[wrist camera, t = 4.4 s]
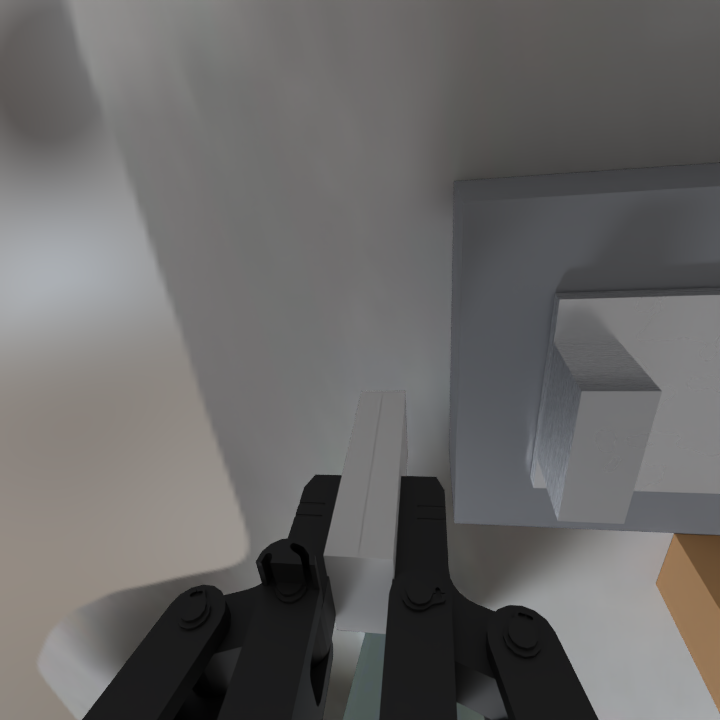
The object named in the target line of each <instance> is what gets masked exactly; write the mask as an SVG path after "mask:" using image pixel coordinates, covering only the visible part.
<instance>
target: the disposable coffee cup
mask: <svg viewBox="0 0 720 720" xmlns="http://www.w3.org/2000/svg"><path fill="white" fill-rule="evenodd" d="M385 638H386V634H378V633H365V637H364V640H363V644H362V648H361V652H360V656H359V660H358V663H357V667H356V671H355V675H354V679H353V682H352V686H351V690H350V694H349V698H348V702H347V705H346V709H345V713H344V717H343V720H379V715H380V702H381V689H382V676H383V663H384V651H385ZM457 720H485V719H484V716H483V715H481V714H479V713H477V712H475V711H473V710H471V709H469V708H467V707H465V706H463V705H461V704H459V703H457Z"/></svg>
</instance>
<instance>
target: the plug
mask: <svg viewBox="0 0 720 720" xmlns="http://www.w3.org/2000/svg"><path fill="white" fill-rule="evenodd" d="M656 585H657V587H658V589H659V591H660V593H661V595H662V597H663V599H664V601H665V603H666V605H667V607H668V609H669V611H670V613H671V615H672V618H673V620H674V622H675V624H676V626H677V628H678V630H679V632H680V634H681V636H682V638H683V640H684V642H685V644H686V646H687V648H688V650H689V652H690V654H691V656H692V658H693V660H694V662H695V664H696V666H697V668H698V670H699V672H700V674H701V676H702V678H703V680H704V682H705V684H706V686H707V688H708V690H709V692H710V694H711V696H712V698H713V700H714V703H715V705H716V707H717V709H718V711H719V713H720V536H716V535H693V534H674V536H673V539H672V541H671V544H670V547H669V549H668V552H667V555H666V558H665V560H664V563H663V566H662V568H661V571H660V574H659V576H658V579H657V582H656Z"/></svg>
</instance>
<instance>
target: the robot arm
mask: <svg viewBox="0 0 720 720" xmlns="http://www.w3.org/2000/svg"><path fill="white" fill-rule="evenodd" d="M407 457H408V449H407V425H406V401H405V391H361V395H360V399H359V404H358V408H357V412H356V417H355V421H354V425H353V430H352V434H351V438H350V443H349V447H348V451H347V456H346V460H345V464H344V469H343V473H342V475H315V476H314V477H313V478H312V479H311V480H310V481H309V483H308V484H307V485H306V486H305V487H304V490H303V493H302V496H301V499H300V505H299V506H298V509H297V512H296V517H295V518H294V521H293V524H292V527H291V530H290V533H289V536H288V539H281V540H279V541H277V542H274V543H272V544H270V545H269V546H268V547H267V548H266V549H264V550H263V551H262V552H261V554H260V555H259V557H258V559H257V560H256V564H257V568H258V571H259V574H260V578H261V581H262V583H261V584H260V585H258V586H256V587H253V588H250V589H248V590H244V591H240V592H236V593H232V594H228V595H223V593H222V591H221V590H219V589H218V588H216V587H215V586H210V585H201V586H197V587H193V588H191V589H189V590H187V591H185V592H184V593H182V594H180V595H179V596H178V597H177V598H176V599H175V600H174V601H173V602H172V603H171V605H170V606H169V607H168V608H167V610H166V611H165V612H164V614H163V615H162V616H161V618H160V619H159V620H158V622H157V623H156V624H155V625H154V627H153V628H152V629H151V631H150V632H149V633H148V635H147V636H146V637H145V638H144V640H143V641H142V642H141V644H140V645H139V646H138V648H137V649H136V650H135V651H134V653H133V654H132V655H131V657H130V658H129V659H128V661H127V662H126V663H125V665H124V666H123V667H122V668H121V670H120V671H119V672H118V674H117V675H116V676H115V678H114V679H113V680H112V681H111V683H110V684H109V685H108V687H107V688H106V689H105V691H104V692H103V693H102V695H101V696H100V697H99V698H98V700H97V701H96V702H95V704H94V705H93V706H92V708H91V709H90V710H89V711H88V713H87V714H86V715H85V717H84V718H83V719H82V720H323V714H324V708H325V702H326V696H327V690H328V684H329V678H330V672H331V666H332V660H333V643H332V634H333V628H334V623H335V622H336V627H337V630H342V631H354V632H366V633H378V634H386V638H385V651H384V663H383V676H382V689H381V702H380V715H379V720H457V703H459V704H461V705H463V706H465V707H467V708H469V709H471V710H473V711H475V712H477V713H479V714H481V715H483V716H484V719H485V720H598V718H597V716H596V714H595V712H594V710H593V708H592V706H591V703H590V701H589V699H588V697H587V695H586V693H585V691H584V689H583V687H582V685H581V683H580V681H579V679H578V677H577V675H576V673H575V671H574V669H573V667H572V665H571V663H570V661H569V659H568V657H567V655H566V653H565V651H564V649H563V647H562V645H561V643H560V641H559V639H558V637H557V635H556V633H555V631H554V630H553V628H552V627H551V626H550V624H549V623H548V621H547V620H546V619H545V618H543V617H542V616H541V615H539V614H538V613H537V612H536V611H534V610H531V609H529V608H526V607H523V606H515V605H508V606H505V607H503V608H500V609H498V610H497V611H496V612H495V611H492V610H490V609H487V608H485V607H482V606H480V605H477V604H475V603H473V602H471V601H469V600H468V599H466V598H465V597H464V596H463V595H461V594H460V593H459V591H458V590H457V589H456V588H455V586H454V585H453V583H452V581H451V579H450V575H449V569H448V550H447V530H446V511H445V492H444V489H443V487H442V486H441V484H440V482H439V481H438V479H437V477H419V476H407Z"/></svg>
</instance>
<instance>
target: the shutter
mask: <svg viewBox="0 0 720 720" xmlns="http://www.w3.org/2000/svg"><path fill="white" fill-rule="evenodd" d="M530 478H531V482H532V485H533V488H547V490H548V493H549V496H550V499H551V502H552V505H553V508H554V511H555V514H556V517H557V520H558V521H567V522H591V523H614V524H624V523H625V519H626V516H627V512H628V509H629V505H630V502H631V498H632V495H633V491H647V492H678V493H709V494H720V288H695V289H664V290H632V291H600V292H568V293H555V296H554V304H553V311H552V319H551V326H550V333H549V341H548V348H547V356H546V363H545V371H544V378H543V386H542V393H541V401H540V408H539V415H538V423H537V430H536V438H535V445H534V453H533V460H532V468H531V475H530Z"/></svg>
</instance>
